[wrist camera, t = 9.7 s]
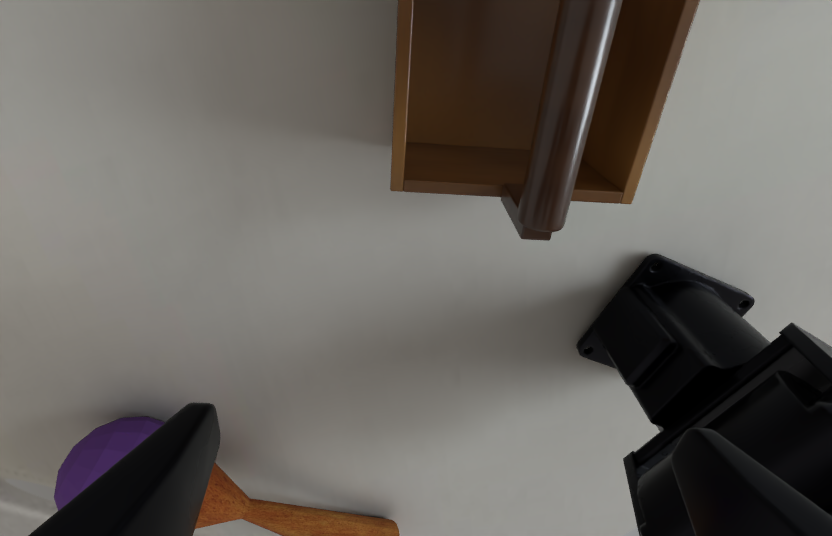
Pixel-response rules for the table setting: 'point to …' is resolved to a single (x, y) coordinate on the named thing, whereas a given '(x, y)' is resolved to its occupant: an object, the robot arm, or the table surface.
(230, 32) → the table surface
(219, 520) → the kendama
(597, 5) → the wooden basket with handle
